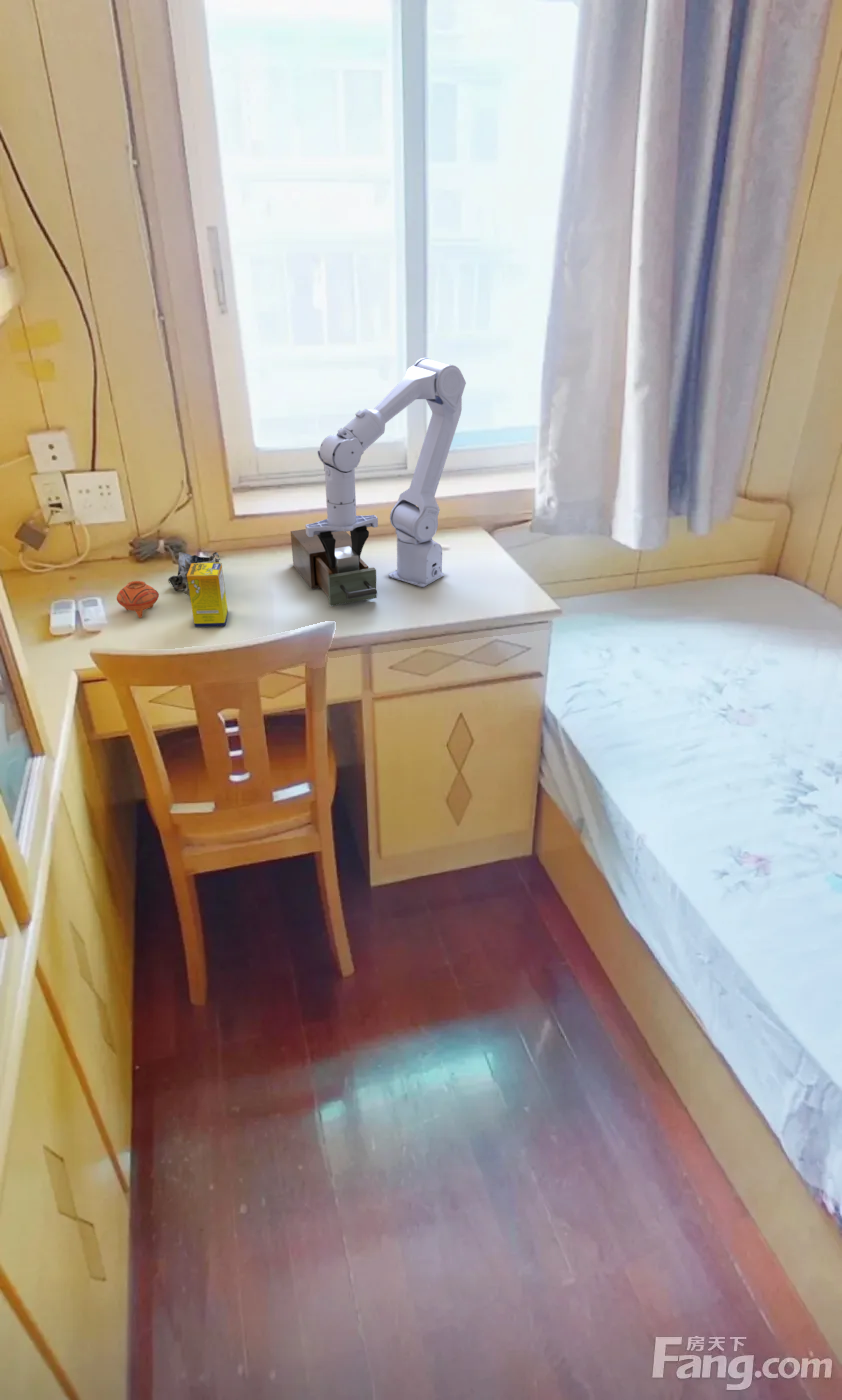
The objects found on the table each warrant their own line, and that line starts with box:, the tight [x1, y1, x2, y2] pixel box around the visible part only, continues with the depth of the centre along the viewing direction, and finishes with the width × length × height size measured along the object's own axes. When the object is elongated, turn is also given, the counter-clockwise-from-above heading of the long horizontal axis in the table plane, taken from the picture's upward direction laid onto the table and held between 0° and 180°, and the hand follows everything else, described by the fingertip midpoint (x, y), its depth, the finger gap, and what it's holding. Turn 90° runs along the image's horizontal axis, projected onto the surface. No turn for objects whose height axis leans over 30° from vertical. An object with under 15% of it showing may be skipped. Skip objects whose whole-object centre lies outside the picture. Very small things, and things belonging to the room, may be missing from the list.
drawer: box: [313, 555, 378, 607], centre depth 169 cm, size 18×10×6 cm, turn 24°
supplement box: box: [187, 562, 229, 628], centre depth 160 cm, size 6×6×11 cm
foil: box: [167, 551, 223, 597], centre depth 173 cm, size 12×11×15 cm
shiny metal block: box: [329, 546, 359, 574], centre depth 169 cm, size 6×4×4 cm
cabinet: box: [290, 528, 352, 590], centre depth 180 cm, size 14×11×8 cm
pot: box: [116, 580, 160, 619], centre depth 164 cm, size 8×8×7 cm
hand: (343, 564), depth 169 cm, fingers closed on shiny metal block, 4 cm apart
